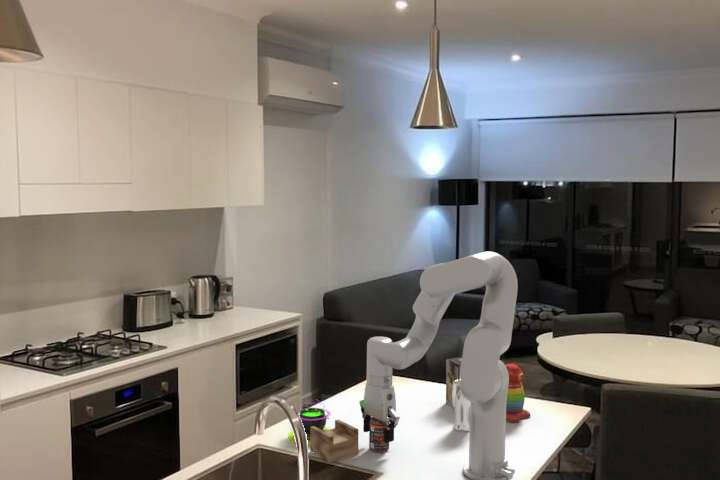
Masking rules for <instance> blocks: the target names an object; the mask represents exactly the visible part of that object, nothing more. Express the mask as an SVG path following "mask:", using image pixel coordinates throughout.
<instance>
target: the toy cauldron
mask: <svg viewBox="0 0 720 480" xmlns="http://www.w3.org/2000/svg"><path fill="white" fill-rule="evenodd" d="M316 400H317V402H319V400H318V399H316ZM317 402H314V404H317ZM305 404H308V402H307V401H305V403H303V405H305ZM309 404H312V402H309ZM319 404H321V405H323V403H320V402H319ZM301 406H302V404H300V405H299V408H300V409H299V410H297V411H296V412H298V416H300V418H301V420H302V423H303V425H304V428H305V432H306V434H307V440H308V445H307V446H310V427H311V426H315V427H317V428H319V429H321V430H323V431H326V430H330V429H331V428H329V427H326V425H327V420H330V418H329V417H330V416H331V415H332V413H331V411H329V409H325V407H326V405H323V408H320V407H308V405H306V407H307V408H302V407H301ZM288 440H290V441H291V442H293V443H295V439H294V435H293V430H292V431H290V432H289V433H288Z"/></svg>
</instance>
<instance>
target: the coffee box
mask: <svg viewBox="0 0 720 480" xmlns="http://www.w3.org/2000/svg"><path fill="white" fill-rule="evenodd" d="M445 361H446V362H445V372H446V373H445V378H446V379H445V391H446V392H445V404H448V405H449V406H451V407H453V399H452V392H453V382H454V381H455V380H459V376H460V369H461V362H462V356H460V357H452V358H446V359H445Z"/></svg>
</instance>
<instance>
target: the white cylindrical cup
mask: <svg viewBox="0 0 720 480" xmlns="http://www.w3.org/2000/svg"><path fill="white" fill-rule="evenodd" d="M452 399H453V406H452V407H453V410H454V411H453V413H454V421H453V425H452V427H453V430H455V431H457V432H461V433H462V432H464V433H465V432H469V429H470V401H468V400H467V399H466V398H465V397H464V396H463V394H462V392H461V390H460V386H459V380H455V381H454V382H453V392H452Z"/></svg>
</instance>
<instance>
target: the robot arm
mask: <svg viewBox="0 0 720 480" xmlns="http://www.w3.org/2000/svg"><path fill="white" fill-rule="evenodd" d="M419 286H420V290H421V291H420V293H419V294H418V296H417V297H416V299H415V301H414V303H413V305H412V311H413V313H414V314H415V319H414V322H413V324H412V326H411V328H410V330H409V332H408V333H407V335H406V336H405V338H402V339H401V340H398V341H394V342H393V340H392V339H391V338H389V337H387V336H373V337H370V338H369V339H368V340H367V341H366V342H367V343H366V382H365V387H364V393H363V394H364V396H363V399H362V400H359V406H360V412H361V414H362V417H361V418H362V419H363V432H364V433H368V432H369V430H370V420H371V418H373V417H374V418H376V419H378V420H380V421H383V423H384V425H385V427H386V429H384V442H385V443H388V442H389V443H391V442H393V441H394V440H395V429H396V427H397V426H398V423H399V421H400V416H399V415H398V413H397V405H396V404H397V400H396V393H395V392H396V391H395V387H394V385H393V369H395V370H404V369H407V368H408V367H410V366H412V365H413V364H415V363H417V362H418V361H420V360H421V359H422V358H423V357H424V356H425V354H426V353H427V351H428V350H429V348H430V346H431V344H432V343H433V341H434V339H435V338H436V335H437V332H438V330H439V326H440V322H441V320H442V318H443V316H444V314H445V313H446V311H447V309H448V307H449V305H450V304H451V302H452V301H453V298H454V296H455V295H456V294H460V293H465V292H467V291H472V290H476V289H480V288H482V287H484V286H485V294H484V296H483V300H482V304H481V305H482V306H481V312H480V313H481V314H480V317H479V323H478V324H477V325H476V326H474V327H472V328H471V329H470V331H468V333H467V334H466V337H465V340H464V343H463V349H462V355H461V358H462V362H461V369H460V376H459V386H460V390H461V392H462V394H463V396H464V397H465V398H466V399H467V400H468V401H470V429H469V431H468V434H469V436H468V438H469V439H468V440H469V441H468V443H469V445H468V461H467V462H466V463H464V464H463V466H462V472H463V474H464V476H466V477H467V478H468V479H470V480H512V479H513V477H514V474H515V472H516V470H515V469H514V468H512V467H509V460H508V459H506V456H505V455H506V427H507V426H506V425H507V424H506V423H507V421H506V401H507V392H508V385H509V374H508V370H507V368H506V366H505V365H506V364H505V363H504V361H502V360H500V359H501V358H500V357H501V355H502V354H504V353H505V352H506V351H508V350H509V348H510V345H511V343H512V333H513V327H514V326H513V325H514V319H515V313H516V303H517V299H518V298H517V297H518V287H519V285H518V277H517V273H516V271H515V269H514V267H513V265H512V264H511V263H510V262H509V260H508V259H506V258H505V257H504V256H503V255H501V254H499V253H498V252H494V251H481V252H477V253H475V254H471V255H468V256H465V257H461V258H458V259H455V260H454V259H453V260H451V261H448V262H447V261H446V262H441V263H437V264H434V265H430V266H429V267H427V268H426V269H425V270H423V271H422V273H421V275H420V278H419ZM386 417H387V418H386ZM387 421H390V424H388V422H387Z"/></svg>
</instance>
